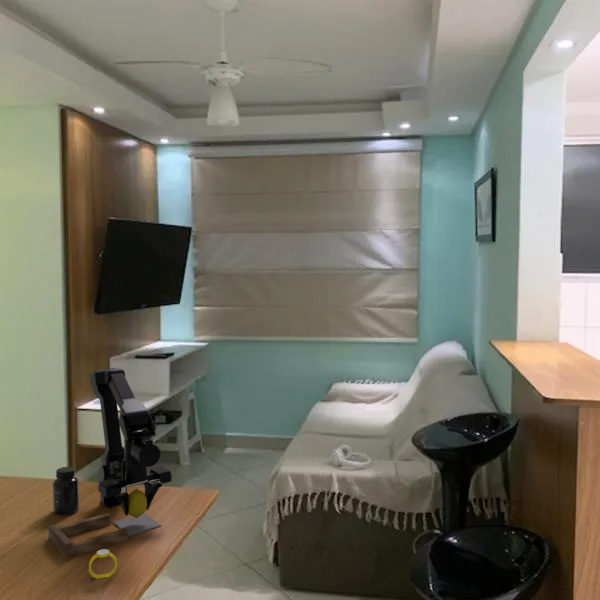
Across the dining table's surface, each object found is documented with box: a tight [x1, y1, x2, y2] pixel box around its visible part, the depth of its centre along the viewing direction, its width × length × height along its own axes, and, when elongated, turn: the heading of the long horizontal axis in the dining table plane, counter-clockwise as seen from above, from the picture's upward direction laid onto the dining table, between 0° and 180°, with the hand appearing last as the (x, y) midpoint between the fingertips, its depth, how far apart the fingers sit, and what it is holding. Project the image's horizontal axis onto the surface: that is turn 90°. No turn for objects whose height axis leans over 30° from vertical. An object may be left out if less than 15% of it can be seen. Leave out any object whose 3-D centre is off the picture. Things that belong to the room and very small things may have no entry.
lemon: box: [128, 488, 147, 518], centre depth 165 cm, size 6×6×8 cm
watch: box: [88, 548, 118, 580], centre depth 138 cm, size 6×3×6 cm, turn 109°
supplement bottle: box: [52, 466, 80, 516], centre depth 173 cm, size 7×7×12 cm
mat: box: [113, 512, 162, 537], centre depth 165 cm, size 9×10×1 cm
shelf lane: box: [47, 512, 129, 559], centre depth 156 cm, size 16×13×4 cm
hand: (136, 512), depth 165 cm, fingers closed on lemon, 5 cm apart
